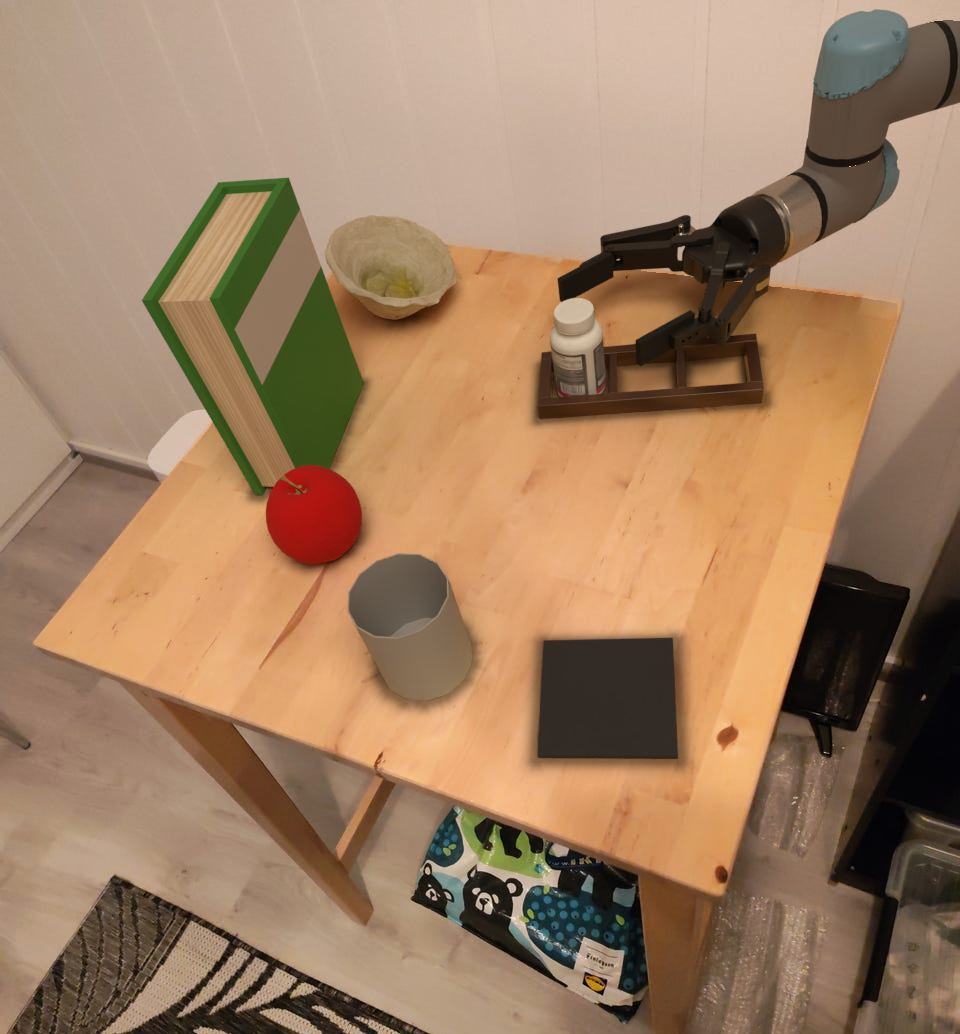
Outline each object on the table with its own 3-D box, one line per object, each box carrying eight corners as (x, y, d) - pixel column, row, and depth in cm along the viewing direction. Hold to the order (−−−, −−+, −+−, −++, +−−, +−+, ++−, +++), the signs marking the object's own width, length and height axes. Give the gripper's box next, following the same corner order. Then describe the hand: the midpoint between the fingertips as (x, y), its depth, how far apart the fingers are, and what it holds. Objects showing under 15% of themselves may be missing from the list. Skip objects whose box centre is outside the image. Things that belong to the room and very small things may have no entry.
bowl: (438, 352, 98) (418, 275, 89) (332, 345, 102) (303, 271, 94) (477, 273, 105) (461, 195, 96) (376, 269, 109) (353, 194, 101)
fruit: (317, 499, 88) (282, 428, 80) (388, 521, 84) (359, 449, 76) (267, 564, 84) (225, 497, 76) (339, 590, 81) (303, 523, 72)
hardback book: (317, 497, 88) (219, 298, 68) (255, 494, 90) (141, 300, 70) (363, 383, 97) (288, 177, 77) (306, 382, 99) (218, 182, 79)
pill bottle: (587, 364, 92) (581, 285, 84) (616, 389, 89) (612, 310, 81) (546, 387, 91) (536, 310, 83) (574, 413, 88) (566, 335, 80)
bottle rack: (754, 347, 89) (756, 333, 87) (762, 403, 84) (764, 389, 83) (543, 365, 93) (541, 351, 92) (539, 419, 89) (537, 406, 87)
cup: (390, 712, 72) (356, 652, 64) (372, 638, 77) (338, 573, 68) (483, 682, 72) (461, 617, 64) (459, 609, 77) (436, 540, 68)
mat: (672, 640, 71) (672, 637, 71) (677, 759, 65) (677, 756, 65) (544, 643, 73) (543, 640, 73) (538, 758, 67) (537, 755, 67)
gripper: (844, 315, 84) (674, 413, 81) (687, 217, 98) (535, 298, 95) (859, 246, 78) (675, 349, 75) (689, 152, 92) (527, 236, 88)
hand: (597, 321), depth 85 cm, fingers open, 13 cm apart
